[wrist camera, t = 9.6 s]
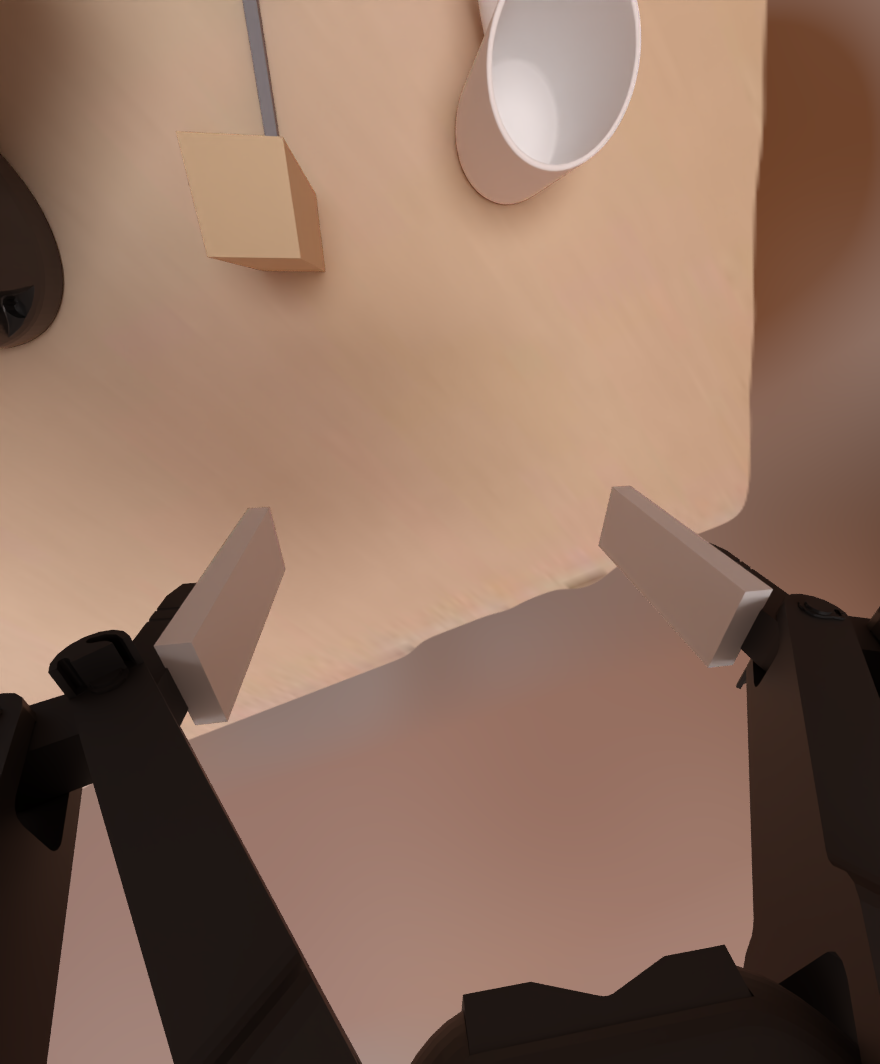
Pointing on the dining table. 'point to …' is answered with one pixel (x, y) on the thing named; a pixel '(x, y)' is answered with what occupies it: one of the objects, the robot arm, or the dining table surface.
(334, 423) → the dining table surface
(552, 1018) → the robot arm
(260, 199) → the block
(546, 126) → the cup
